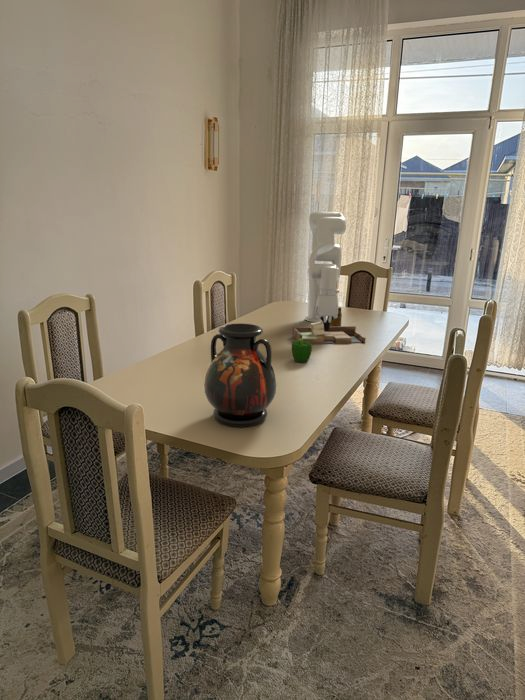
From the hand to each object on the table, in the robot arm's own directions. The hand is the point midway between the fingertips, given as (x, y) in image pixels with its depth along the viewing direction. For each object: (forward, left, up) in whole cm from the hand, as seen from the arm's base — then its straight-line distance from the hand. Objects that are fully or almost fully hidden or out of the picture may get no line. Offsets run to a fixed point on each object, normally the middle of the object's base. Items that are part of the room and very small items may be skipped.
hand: (326, 330), depth 239 cm
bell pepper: (+32, -20, -5) cm, 39 cm away
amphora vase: (+85, -52, -5) cm, 100 cm away
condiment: (-17, +11, -5) cm, 20 cm away
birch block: (0, -4, -2) cm, 4 cm away
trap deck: (+1, +2, -5) cm, 5 cm away
